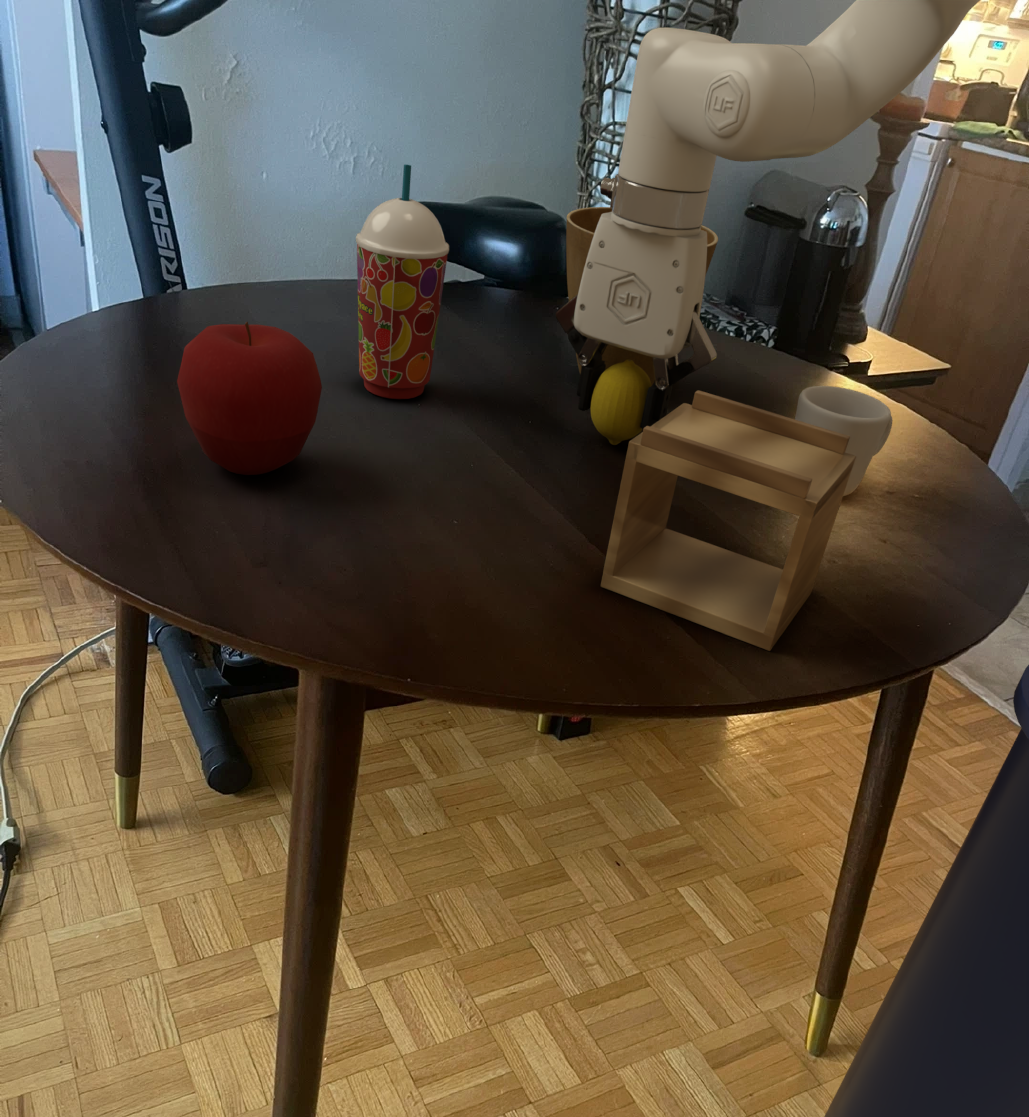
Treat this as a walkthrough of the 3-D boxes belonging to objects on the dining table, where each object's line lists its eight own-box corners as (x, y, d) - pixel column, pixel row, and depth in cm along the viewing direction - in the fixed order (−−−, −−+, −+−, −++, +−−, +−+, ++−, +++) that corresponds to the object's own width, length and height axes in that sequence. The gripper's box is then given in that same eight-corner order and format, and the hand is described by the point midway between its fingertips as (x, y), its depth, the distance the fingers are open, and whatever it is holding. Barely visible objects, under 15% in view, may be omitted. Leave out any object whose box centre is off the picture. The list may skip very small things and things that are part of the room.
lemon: (577, 431, 101) (591, 347, 96) (633, 433, 102) (649, 351, 98) (593, 456, 97) (608, 369, 92) (650, 458, 98) (668, 372, 93)
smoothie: (352, 370, 107) (361, 150, 95) (436, 378, 108) (454, 162, 96) (348, 401, 100) (356, 168, 88) (437, 409, 101) (457, 180, 89)
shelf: (810, 594, 80) (861, 439, 73) (769, 651, 73) (822, 485, 66) (653, 538, 85) (687, 386, 78) (599, 586, 77) (632, 424, 70)
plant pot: (570, 349, 120) (593, 198, 111) (696, 381, 117) (732, 227, 108) (523, 387, 109) (545, 221, 100) (662, 423, 105) (699, 255, 96)
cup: (839, 459, 103) (865, 379, 99) (901, 494, 98) (932, 411, 94) (758, 472, 98) (781, 388, 94) (819, 510, 93) (847, 423, 88)
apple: (252, 510, 80) (250, 357, 73) (151, 465, 84) (140, 315, 77) (347, 468, 88) (352, 326, 81) (250, 429, 92) (248, 290, 85)
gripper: (545, 188, 87) (517, 400, 98) (742, 236, 82) (690, 456, 92) (585, 179, 93) (555, 380, 104) (772, 223, 87) (719, 432, 98)
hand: (619, 414), depth 98 cm, fingers closed on lemon, 5 cm apart
